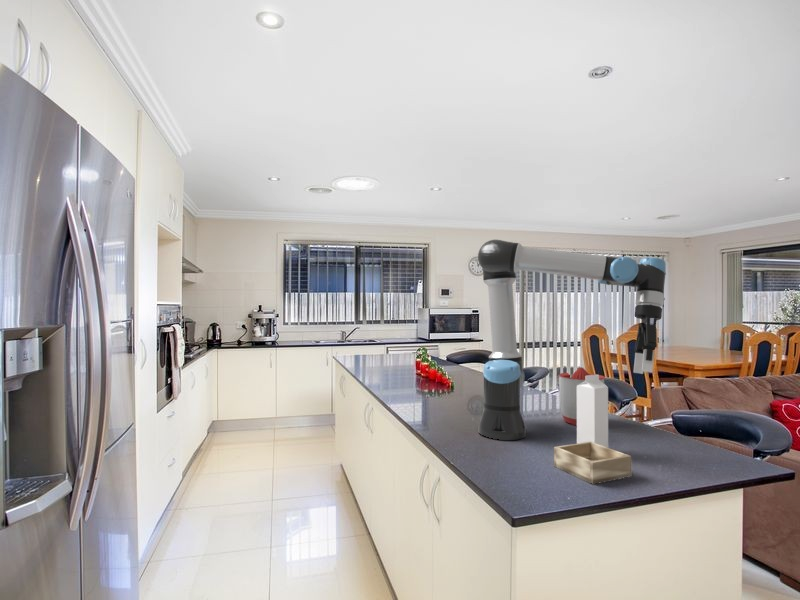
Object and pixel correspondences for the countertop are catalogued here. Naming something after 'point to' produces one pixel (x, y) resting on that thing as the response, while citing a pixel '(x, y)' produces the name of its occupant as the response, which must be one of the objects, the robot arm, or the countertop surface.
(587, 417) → the milk
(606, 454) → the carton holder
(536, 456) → the countertop surface
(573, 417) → the citrus juicer
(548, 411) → the countertop surface
